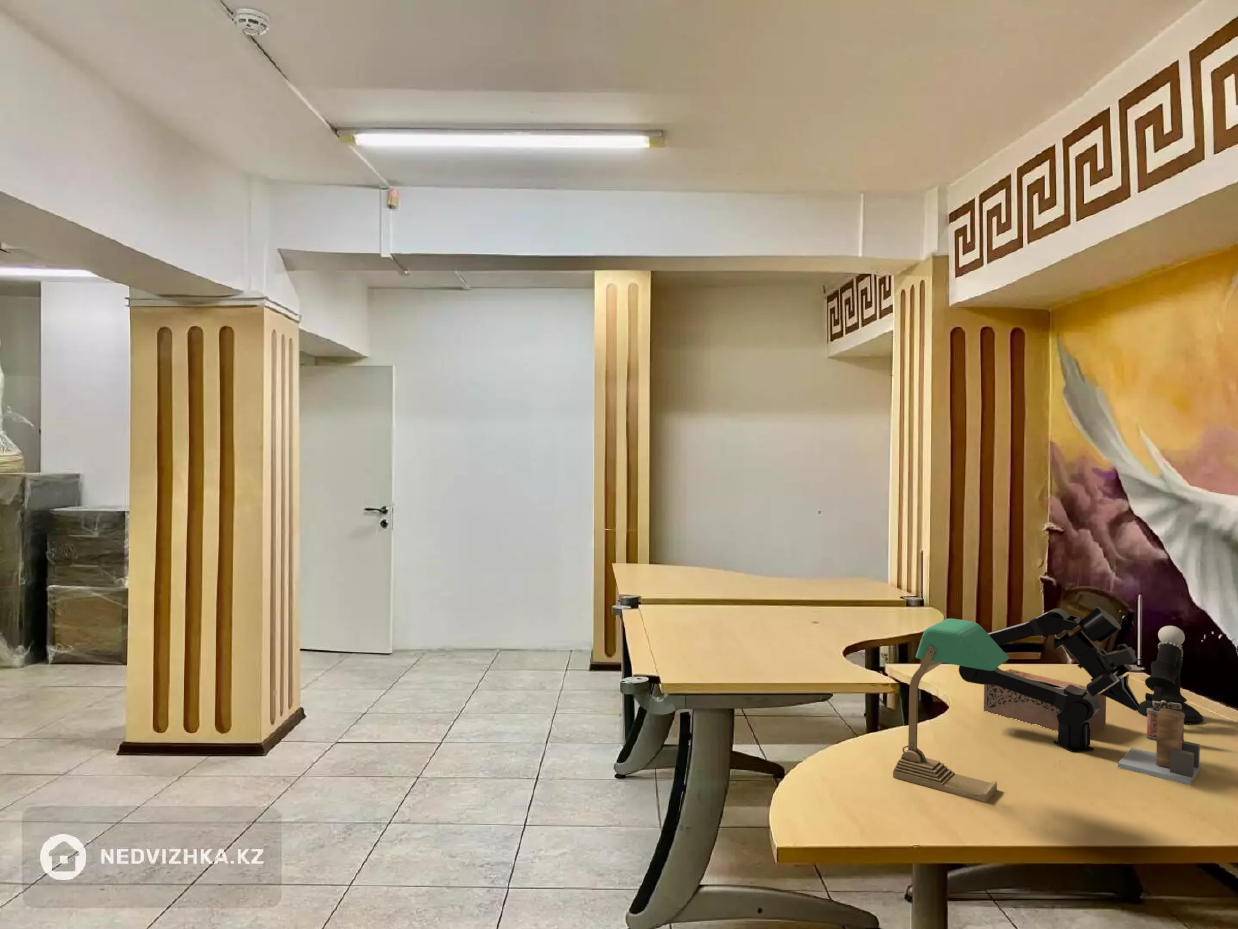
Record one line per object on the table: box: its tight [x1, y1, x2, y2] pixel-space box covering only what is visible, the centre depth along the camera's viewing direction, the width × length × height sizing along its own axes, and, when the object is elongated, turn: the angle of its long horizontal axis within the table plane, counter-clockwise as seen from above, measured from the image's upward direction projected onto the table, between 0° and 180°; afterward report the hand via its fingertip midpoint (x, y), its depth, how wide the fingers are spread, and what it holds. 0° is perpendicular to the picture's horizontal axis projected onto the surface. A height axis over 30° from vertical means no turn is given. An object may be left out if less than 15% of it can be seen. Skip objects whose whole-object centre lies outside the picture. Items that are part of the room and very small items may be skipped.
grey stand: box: [1117, 740, 1202, 786], centre depth 183 cm, size 14×14×6 cm
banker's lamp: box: [892, 618, 1010, 803], centre depth 172 cm, size 16×21×35 cm
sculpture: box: [1136, 625, 1204, 725], centre depth 218 cm, size 15×24×25 cm, turn 134°
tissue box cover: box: [983, 668, 1107, 735], centre depth 217 cm, size 26×14×10 cm, turn 36°
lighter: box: [1145, 700, 1185, 742], centre depth 201 cm, size 8×3×10 cm, turn 62°
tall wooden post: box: [1155, 708, 1183, 768], centre depth 182 cm, size 4×5×12 cm
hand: (1137, 709), depth 186 cm, fingers closed
